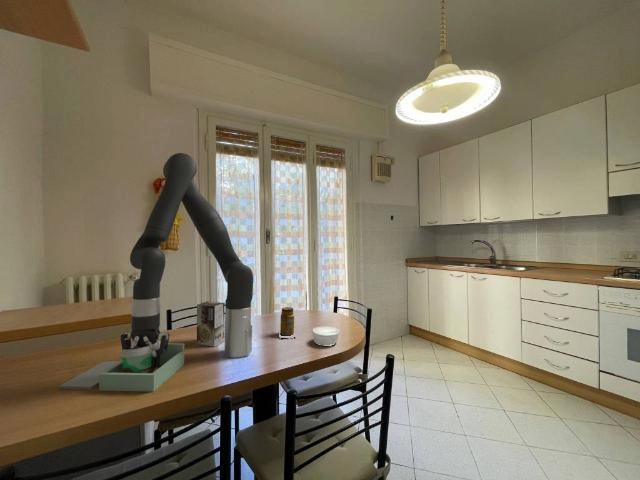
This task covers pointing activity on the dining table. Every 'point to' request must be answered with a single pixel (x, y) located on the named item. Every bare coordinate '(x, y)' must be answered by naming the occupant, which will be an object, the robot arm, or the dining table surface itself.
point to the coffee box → (210, 323)
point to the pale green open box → (143, 381)
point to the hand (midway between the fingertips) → (144, 367)
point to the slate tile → (88, 377)
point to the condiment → (287, 322)
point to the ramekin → (325, 335)
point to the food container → (138, 359)
